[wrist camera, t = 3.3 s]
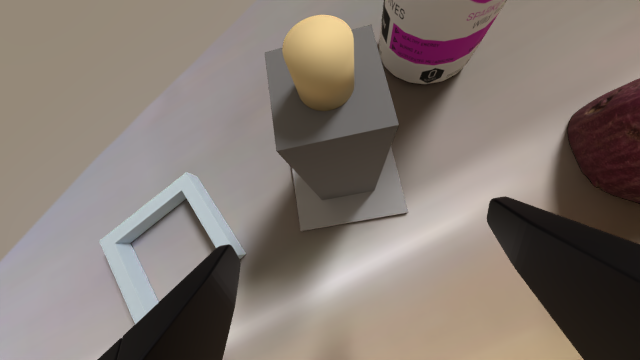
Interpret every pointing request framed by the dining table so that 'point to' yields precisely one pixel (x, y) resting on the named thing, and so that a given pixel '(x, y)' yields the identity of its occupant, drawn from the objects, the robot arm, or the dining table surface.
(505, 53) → the dining table surface
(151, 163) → the dining table surface
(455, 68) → the supplement can
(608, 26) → the dining table surface
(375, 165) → the plug block
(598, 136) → the vegetable
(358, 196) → the grey pad
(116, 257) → the blue bay
